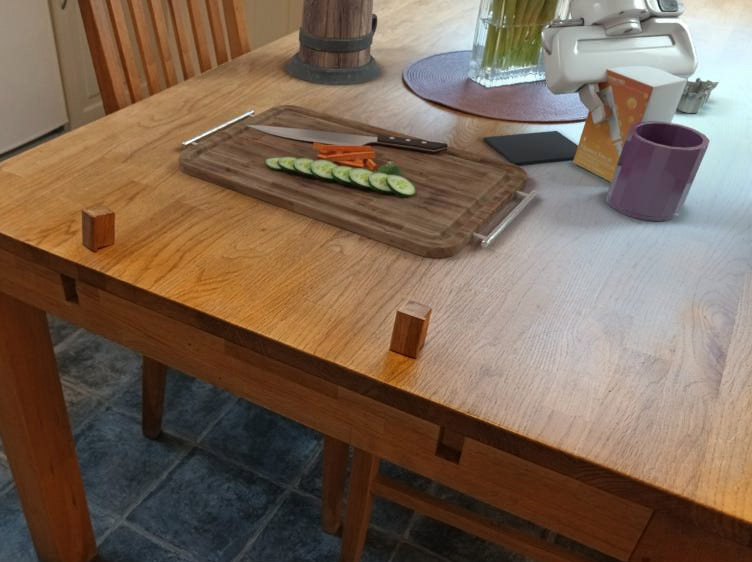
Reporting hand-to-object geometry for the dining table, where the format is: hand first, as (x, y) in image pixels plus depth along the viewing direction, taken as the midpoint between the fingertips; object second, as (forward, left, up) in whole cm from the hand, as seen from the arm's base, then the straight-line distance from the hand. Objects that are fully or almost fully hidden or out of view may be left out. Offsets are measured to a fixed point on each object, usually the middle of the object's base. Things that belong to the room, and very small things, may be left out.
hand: (631, 119), depth 92 cm
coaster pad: (+6, -10, -7) cm, 14 cm away
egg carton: (-28, -21, -8) cm, 36 cm away
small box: (0, -1, -8) cm, 8 cm away
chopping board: (+35, -8, -8) cm, 37 cm away
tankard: (+21, -52, -8) cm, 56 cm away
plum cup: (+2, +9, -7) cm, 12 cm away
